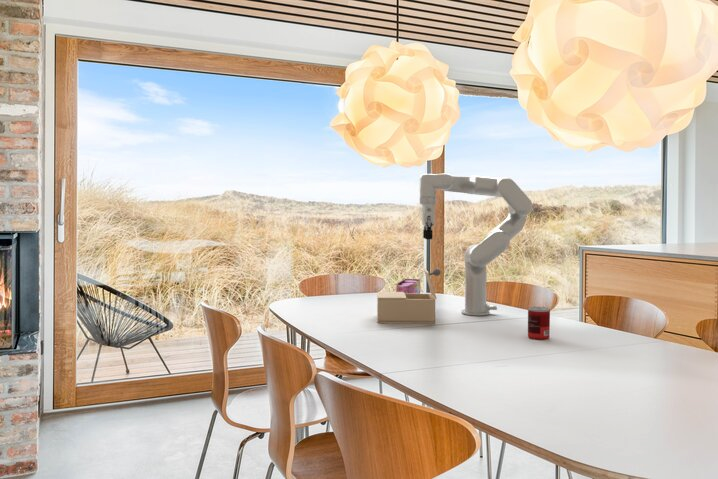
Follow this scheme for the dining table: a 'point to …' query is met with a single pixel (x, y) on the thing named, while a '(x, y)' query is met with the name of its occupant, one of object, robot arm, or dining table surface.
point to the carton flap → (436, 273)
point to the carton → (405, 308)
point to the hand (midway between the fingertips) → (427, 238)
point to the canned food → (538, 323)
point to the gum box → (409, 286)
